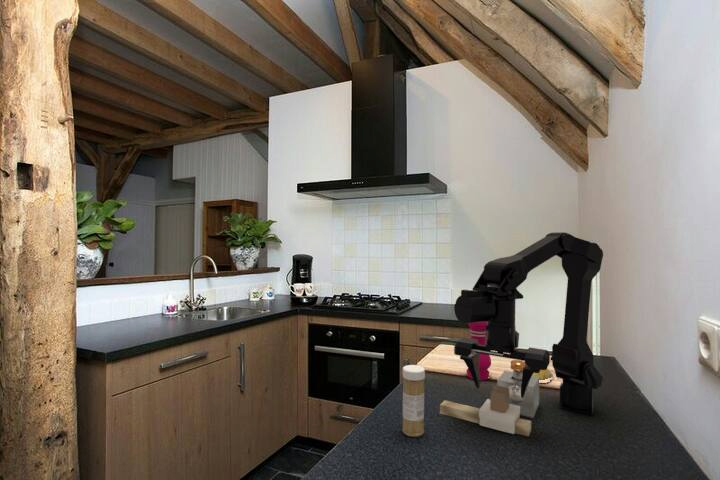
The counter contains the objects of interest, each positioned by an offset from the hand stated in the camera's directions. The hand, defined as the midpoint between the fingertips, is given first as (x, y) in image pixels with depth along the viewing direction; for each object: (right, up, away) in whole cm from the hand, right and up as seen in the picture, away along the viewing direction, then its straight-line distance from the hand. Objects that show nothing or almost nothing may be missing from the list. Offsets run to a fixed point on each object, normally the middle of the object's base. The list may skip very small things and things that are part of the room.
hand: (499, 392), depth 85 cm
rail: (-3, -7, +2) cm, 8 cm away
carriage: (0, -7, 0) cm, 7 cm away
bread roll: (+21, -8, +29) cm, 37 cm away
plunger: (+8, -3, +9) cm, 13 cm away
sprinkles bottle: (-19, -7, -3) cm, 21 cm away
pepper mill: (+4, -7, +30) cm, 32 cm away
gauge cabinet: (+8, -7, +9) cm, 14 cm away
